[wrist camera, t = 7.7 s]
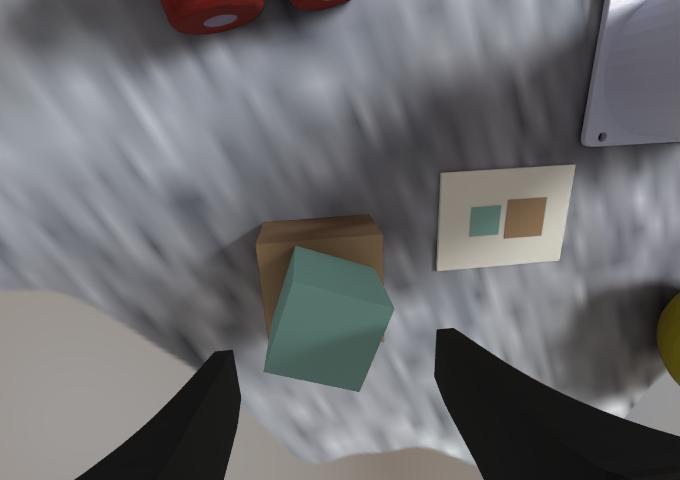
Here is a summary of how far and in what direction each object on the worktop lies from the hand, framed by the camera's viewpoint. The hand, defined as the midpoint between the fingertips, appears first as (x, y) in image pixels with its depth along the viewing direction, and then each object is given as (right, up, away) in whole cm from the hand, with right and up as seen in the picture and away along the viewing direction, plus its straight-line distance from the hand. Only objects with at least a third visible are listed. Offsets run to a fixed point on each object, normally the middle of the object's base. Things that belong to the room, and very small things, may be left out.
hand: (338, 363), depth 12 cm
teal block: (-1, +2, +5) cm, 5 cm away
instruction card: (+10, +6, +9) cm, 14 cm away
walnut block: (-1, +3, +9) cm, 9 cm away
